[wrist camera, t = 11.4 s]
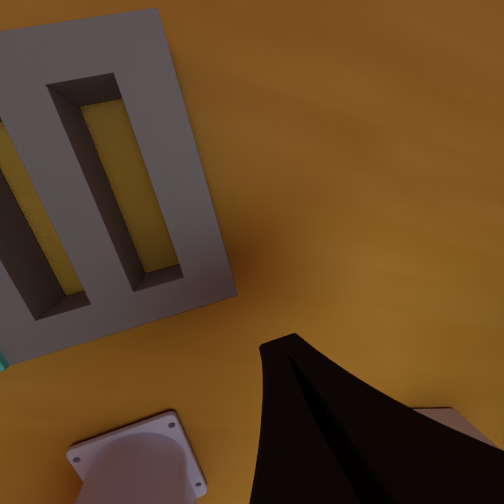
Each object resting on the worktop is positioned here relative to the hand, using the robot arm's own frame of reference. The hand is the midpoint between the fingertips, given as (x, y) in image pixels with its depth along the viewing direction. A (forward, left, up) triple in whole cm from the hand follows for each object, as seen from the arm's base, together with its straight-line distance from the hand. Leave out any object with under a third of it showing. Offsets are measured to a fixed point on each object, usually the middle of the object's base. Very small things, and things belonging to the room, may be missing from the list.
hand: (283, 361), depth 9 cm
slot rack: (+7, +10, -9) cm, 15 cm away
